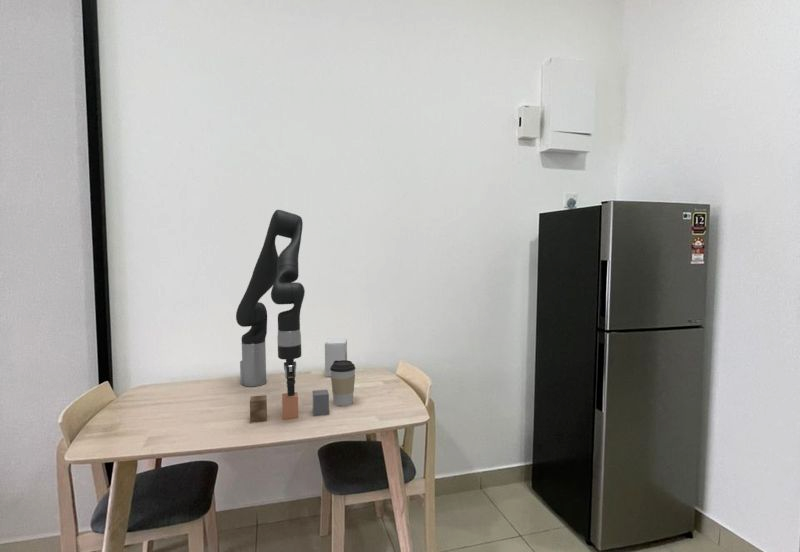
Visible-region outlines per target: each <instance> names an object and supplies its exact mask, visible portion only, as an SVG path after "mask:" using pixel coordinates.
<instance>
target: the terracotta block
mask: <svg viewBox="0 0 800 552" xmlns="http://www.w3.org/2000/svg"><path fill="white" fill-rule="evenodd" d="M281 397H282V398H281V399H282V400H281V404H282V405H281V408H282V420H291V419H292V420H293V419H299V394H298V391H296V392H295V395H294V396H288V392H285V393H284V392H283V393H281Z"/></svg>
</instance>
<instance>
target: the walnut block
mask: <svg viewBox="0 0 800 552" xmlns="http://www.w3.org/2000/svg"><path fill="white" fill-rule="evenodd" d="M267 400H268V399H267V394H263V395H254V396H253V395H251V396H250V397H249V419H250V421H249V422H250V423H249V424H254V423H261V422H267V420H268V419H267V418H268V406H267V405H268V402H267Z"/></svg>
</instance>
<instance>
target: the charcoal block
mask: <svg viewBox="0 0 800 552" xmlns="http://www.w3.org/2000/svg"><path fill="white" fill-rule="evenodd" d="M329 396H330V393H329V390H328V389H318V390H312V415H313V417H320V416H327V415H328V416H329V415H330V397H329Z"/></svg>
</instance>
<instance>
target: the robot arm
mask: <svg viewBox="0 0 800 552" xmlns="http://www.w3.org/2000/svg"><path fill="white" fill-rule="evenodd" d="M302 232H303V218H302V217H301V216H300V215H298V214H296V213H292V212H288V211H285V210H282V209H276V210H274V212H273V214H272V215H271V219H270V221H269V224H268V228H267V232H266V235H265V238H264V242H263V246H262V248H261V251H260V252H259V253H260V254H259V256H258V258H257V261H256V263H255V266H254V268H253V271H252V274H251V278H250V281H249V283H248V284H247V288H246V290H245V292H244V295H243V296H242V298H241V301H240V302H239V303H238V304H239V305H238V307H237V308H236V314H235V320H236V323H237V324H238V326H240V327H241V328H244V327H245V328H246V327H247V328H248V327H250V329H249V330H248V331H246V332H245V333H243V334H242V336H241V360H240V362H239V369H240V385H243V386H245V387H258V386H262V385H265V384H266V383H267V353H266V352H267V351H266V350H267V349H266V337H267V335H268V334H267V332H268V310H267V308H266V305H265V304H264V303H263V302H260V299H262V297H263V296H264V295H265V294H267V292H269V291H270V289H271V291H270V297H271V300H272V302H273V303H274V304H276V305H293V306H292V307H291V308H290V309H288V310H284V311H281V312H279V313H278V314H277V358H278V359H280V360H285V361H284V362H283V369H284V378H285V379H286V388H287V393H288V396H294V395H295V391H296V390H295V387H296V386H295V384H296V378H297V361H294V360H296V359H299V358H301V357H302V332H301V309H302V305H303V301H304V298H305V294H306V293H305V292H306V291H305V287H304V285H303V284H302V283H301V282H296V281H297V280H298V278H299V254H300V248H301V242H302ZM277 236H280V237H283V238H287V239H290V242H289V243H288V245H287V246H286V247H285V248H284V249H282V251H281V252H280V254H278V251H277V246H276V239H277Z"/></svg>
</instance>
